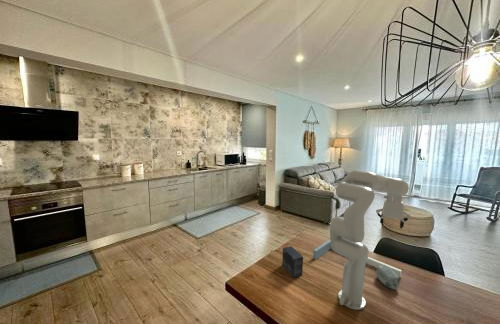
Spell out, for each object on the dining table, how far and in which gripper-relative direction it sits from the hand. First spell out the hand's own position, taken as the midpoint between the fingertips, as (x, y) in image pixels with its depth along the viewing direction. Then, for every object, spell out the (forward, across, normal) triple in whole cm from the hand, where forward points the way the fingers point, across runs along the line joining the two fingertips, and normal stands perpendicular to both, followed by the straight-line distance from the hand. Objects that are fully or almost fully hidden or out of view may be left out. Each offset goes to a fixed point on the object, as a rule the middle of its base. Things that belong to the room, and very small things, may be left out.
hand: (391, 226), depth 128 cm
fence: (+29, -18, -6) cm, 35 cm away
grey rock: (+29, -2, -14) cm, 32 cm away
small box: (+29, -53, -28) cm, 66 cm away
